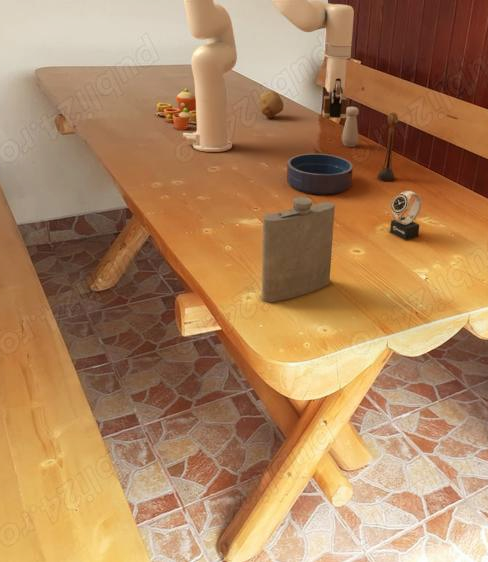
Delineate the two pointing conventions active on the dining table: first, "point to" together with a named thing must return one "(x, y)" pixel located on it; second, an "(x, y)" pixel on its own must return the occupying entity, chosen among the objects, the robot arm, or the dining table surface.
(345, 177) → the bowl
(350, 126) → the salt shaker
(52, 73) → the dining table surface
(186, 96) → the toy tea set
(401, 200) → the watch
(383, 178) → the wooden tabletop sculpture
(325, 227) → the hip flask
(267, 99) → the natural sponge
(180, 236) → the dining table surface
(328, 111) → the eraser
